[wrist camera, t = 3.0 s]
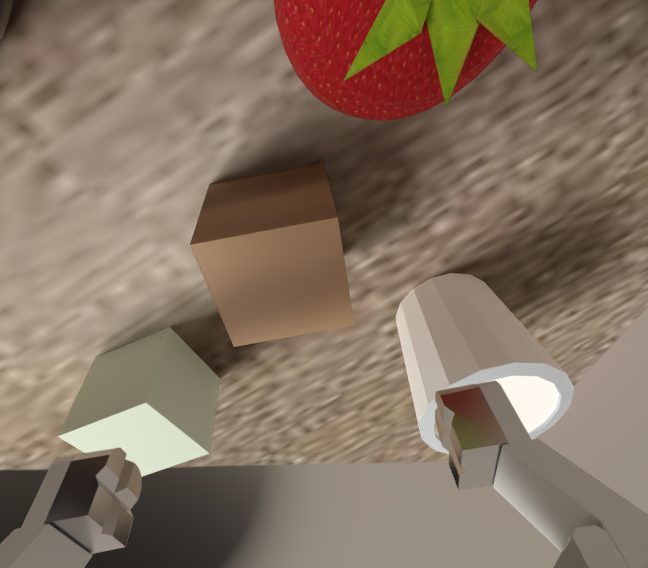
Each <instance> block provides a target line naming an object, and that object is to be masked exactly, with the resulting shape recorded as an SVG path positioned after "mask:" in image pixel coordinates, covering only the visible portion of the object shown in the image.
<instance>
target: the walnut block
mask: <svg viewBox="0 0 648 568" xmlns="http://www.w3.org/2000/svg"><path fill="white" fill-rule="evenodd" d="M190 246H191V249H192V251H193V253H194V255H195V258H196V260H197V262H198V265H199V267H200V269H201V272H202V274H203V276H204V279H205V281H206V283H207V286H208V288H209V290H210V293H211V295H212V297H213V300H214V302H215V304H216V306H217V309H218V311H219V313H220V316H221V318H222V320H223V323H224V325H225V327H226V330H227V332H228V334H229V337H230V339H231V341H232V344H233V346H234V347H237V346H242V345H248V344H253V343H259V342H264V341H270V340H275V339H281V338H286V337H292V336H297V335H302V334H308V333H313V332H319V331H324V330H330V329H335V328H341V327H346V326H352V325H354V320H353V314H352V307H351V301H350V294H349V287H348V281H347V274H346V267H345V261H344V254H343V248H342V241H341V234H340V228H339V221H338V216H337V212H336V208H335V204H334V200H333V197H332V193H331V189H330V185H329V182H328V178H327V174H326V170H325V166H324V163H321V164H316V165H310V166H305V167H300V168H295V169H289V170H284V171H279V172H273V173H268V174H263V175H257V176H252V177H247V178H242V179H236V180H231V181H226V182H220V183H215V184H210V185H209V187H208V190H207V193H206V197H205V200H204V203H203V206H202V209H201V212H200V215H199V218H198V221H197V225H196V228H195V231H194V234H193V237H192V240H191V243H190Z"/></svg>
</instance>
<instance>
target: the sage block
mask: <svg viewBox="0 0 648 568" xmlns="http://www.w3.org/2000/svg"><path fill="white" fill-rule="evenodd" d="M219 383H220V378H219V377H218V376H217V375H216V374H215V373H214V372H213V371H212V370H211V369H210V368H209V367H208V366H207V365H206V364H205V363H204V362H203V361H202V359H201V358H200V357H199V356H198V355H197V354H196V353H195V352H194V351H193V350H192V349H191V348H190V347H189V346H188V345H187V344H186V343H185V342H184V341H183V340H182V339H181V338H180V337H179V336H178V335H177V334H176V333H175V332H174V331H173V330H172V329H171V328H170V327H168V328H166V329H163V330H161V331H158V332H156V333H154V334H151V335H149V336H146V337H144V338H142V339H139V340H137V341H134V342H132V343H130V344H127V345H125V346H123V347H120V348H118V349H115V350H113V351H111V352H108V353H106V354H103V355H101V356H99V357H96V358H95V360H94V362H93V364H92V366H91V368H90V370H89V372H88V374H87V376H86V378H85V381H84V383H83V385H82V387H81V389H80V391H79V393H78V395H77V397H76V399H75V401H74V403H73V406H72V408H71V410H70V412H69V414H68V416H67V418H66V420H65V422H64V424H63V426H62V428H61V431H60V433H59V435H58V437H60V438H61V439H63V440H64V441H66V442H68V443H69V444H71V445H73V446H74V447H76V448H78V449H79V450H81V451H83V452H84V453H88V452H94V451H100V450H107V449H113V448H119V447H120V448H121V449H122V450H123V451H124V452H125V453H126V454H127V455H126V458H125V459H126V460H128V461H131V462H134V463H135V464H136V465H137V466H138V468H139V470H140V473H141V477H142V476H145V475H148V474H150V473H153V472H156V471H159V470H162V469H165V468H168V467H171V466H174V465H177V464H180V463H183V462H186V461H188V460H191V459H194V458H197V457H200V456H203V455H206V454H209V453H210V446H211V439H212V432H213V425H214V418H215V411H216V404H217V397H218V390H219Z"/></svg>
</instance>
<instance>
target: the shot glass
mask: <svg viewBox="0 0 648 568" xmlns="http://www.w3.org/2000/svg"><path fill="white" fill-rule="evenodd" d="M396 321H397V327H398V332H399V337H400V342H401V346H402V351H403V355H404V360H405V365H406V369H407V374H408V379H409V383H410V388H411V392H412V397H413V402H414V406H415V411H416V415H417V420H418V425H419V429H420V434H421V439H422V440H423V441H424V442H426V443H427V444H428V445H429V446H430V447H431V448H432V449H434V450H435V451H439V452H443V453H446V454H449V452H448V451H447V450H446V449H445V448H443V447H442V444H441V441H440V438H439V435H438V431H437V428H436V422H435V410H436V409H437V407H438V406H437V404H436V401H435V393H436V391H440V390H445V389H450V388H455V387H460V386H465V385H471V384H479V383H484V382H489V381H497V382H498V383H499V384H500V385H501V386H502V388H503V390H504V392H505V393H506V395H507V397H508V399H509V400H510V402H511V404H512V406H513V407H514V409H515V411H516V413H517V415H518V416H519V418H520V420H521V422H522V423H523V425H524V427H525V429H526V430H527V432H528V434H529V436H530V437H531V439H534V438H535V437H537V436H538V435H540V434H541V433H543V432H544V431H546V430H547V429H548V428H550V427H552V426H553V425H554V424H556V422H557V421H558V420H559V419H560V418H561V416H562V415H563V414H564V413H565V412H566V410H567V409H568V408H569V407H570V404H571V400H572V396H573V392H574V387H573V385H572V383H571V381H570V379H569V377H568V376H567V374H566V372H565V371H564V370H563V369H562V368H561V367H560V366H559V365H558V363H557V362H556V361H555V360H554V359H553V358H552V357H551V356H550V355H549V353H548V352H547V351H546V350H545V349H544V348H543V347H542V346H541V345H540V343H539V342H538V341H537V340H536V339H535V338H534V337H533V336H532V335H531V333H530V332H529V331H528V330H527V329H526V328H525V327H524V326H523V325H522V323H521V322H520V321H519V320H518V319H517V318H516V317H515V316H514V315H513V313H512V312H511V311H510V310H509V309H508V308H507V307H506V306H505V305H504V303H503V302H502V301H501V300H500V299H499V298H498V297H497V296H496V295H495V293H494V292H493V291H492V290H491V289H490V288H489V287H488V286H487V285H486V283H485V282H483V281H482V280H480V279H478V278H476V277H474V276H472V275H470V274H458V273H449V274H445V275H441V276H437V277H433V278H430V279H428V280H426V281H425V282H423V283H421V284H420V285H418V286H416V287H415V288H413V289H412V290H411V291H410V292H409V294H408V295H407V296H406V297H405V298H404V299H403V300H402V301H401V303H400V306H399V309H398V312H397V315H396Z"/></svg>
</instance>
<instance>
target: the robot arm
mask: <svg viewBox="0 0 648 568" xmlns="http://www.w3.org/2000/svg"><path fill="white" fill-rule="evenodd" d="M435 401H436V404H437V406H438V407H437V409H436V410H435V422H436V428H437V431H438V435H439V438H440V441H441V444H442V447H443V448H445V449H446V450H447V451H448V452H449V466H450V469H451V472H452V474H453V477H454V480H455V483H456V485H457V488H458V490H461V489H468V488H476V487H483V486H489V485H493V487H494V488H495V489H496V490H497V491H498V492H499V493H500V494H501V495H502V496H503V497H504V498H505V499H506V500H507V501H508V502H509V503H510V504H511V505H512V506H513V507H515V508H516V509H517V510H518V511H519V512H520V513H521V514H522V515H523V516H524V517H525V518H526V519H527V520H528V521H529V522H530V523H531V524H532V525H534V526H535V527H536V528H537V529H538V530H539V531H540V532H541V533H542V534H543V535H544V536H545V537H546V538H547V539H548V540H549V541H550V542H551V543H552V544H553V545H554V546H556V548H558V549H559V550H560V551H561V554H560V556H559V558H558V560H557V562H556V564H555V566H554V568H648V514H647V513H645V512H644V511H642V510H641V509H639V508H638V507H636V506H635V505H633V504H632V503H631V502H629V501H628V500H626V499H625V498H623V497H622V496H620V495H619V494H617V493H616V492H615V491H613V490H612V489H610V488H609V487H607V486H606V485H604V484H603V483H601V482H600V481H599V480H597V479H596V478H594V477H593V476H591V475H590V474H588V473H587V472H585V471H584V470H583V469H581V468H580V467H578V466H577V465H575V464H574V463H572V462H571V461H569V460H568V459H567V458H565V457H564V456H562V455H561V454H559V453H558V452H556V451H555V450H553V449H552V448H550V447H549V446H548V445H546V444H545V443H543V442H542V441H540V440H539V439H534V440H532V439H531V437H530V436H529V434H528V432H527V430H526V429H525V427H524V425H523V423H522V422H521V420H520V418H519V416H518V415H517V413H516V411H515V409H514V407H513V406H512V404H511V402H510V400H509V399H508V397H507V395H506V393H505V392H504V390H503V388H502V386H501V385H500V384H499V383H498V382H497V381H489V382H484V383H479V384H471V385H465V386H460V387H455V388H450V389H445V390H440V391H436V393H435ZM126 455H127V454H126V453H125V452H124V451H123V450H122V449H121V448H120V447H119V448H113V449H107V450H100V451H94V452H88V453H82V454H75V455H69V456H64V457H58V458H57V459H56V460H55V461H54V462H53V463H52V465H51V466H50V468H49V471H48V473H47V475H46V477H45V479H44V481H43V483H42V485H41V487H40V490H39V492H38V494H37V496H36V498H35V500H34V502H33V504H32V506H31V508H30V511H29V513H28V515H27V517H26V519H25V521H24V523H23V525H22V527H21V528H19V529H15V530H14V531H13V532H12V533H11V534H10V535H9V536H8V537H7V538H6V539H5V540H4V541H3V542H2V543H1V544H0V568H84V567H85V565H86V564H87V563H88V561H89V560H90V558H91V557H92V555H91V554H93V553H97V552H103V551H107V550H112V549H118V548H123V547H126V543H127V539H128V536H129V532H130V529H131V525H132V521H133V516H132V513H131V511H130V509H131V508H132V507H133V505H134V504H135V503H136V502H137V500H138V499H139V495H140V491H141V473H140V470H139V468H138V466H137V465H136V464H135V463H134V462H131V461H128V460H126V459H125V458H126Z"/></svg>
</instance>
